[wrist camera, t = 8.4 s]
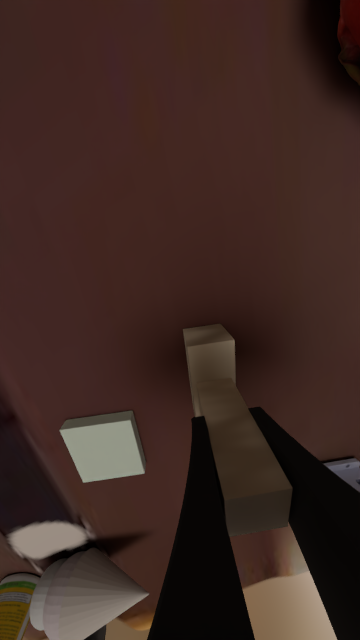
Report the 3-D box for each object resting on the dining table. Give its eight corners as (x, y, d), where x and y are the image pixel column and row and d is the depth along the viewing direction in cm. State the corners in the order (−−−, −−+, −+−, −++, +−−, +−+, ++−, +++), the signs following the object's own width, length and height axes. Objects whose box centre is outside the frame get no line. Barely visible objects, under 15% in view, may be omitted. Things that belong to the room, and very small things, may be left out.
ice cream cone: (159, 532, 22) (66, 537, 25) (132, 569, 17) (20, 570, 20) (165, 615, 19) (58, 609, 22) (134, 691, 14) (1, 669, 17)
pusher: (220, 323, 14) (311, 427, 5) (224, 402, 16) (289, 559, 8) (182, 329, 13) (209, 443, 5) (193, 407, 16) (222, 571, 8)
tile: (130, 420, 15) (59, 430, 15) (144, 473, 17) (83, 482, 17) (133, 406, 16) (69, 415, 16) (146, 457, 18) (90, 465, 18)
